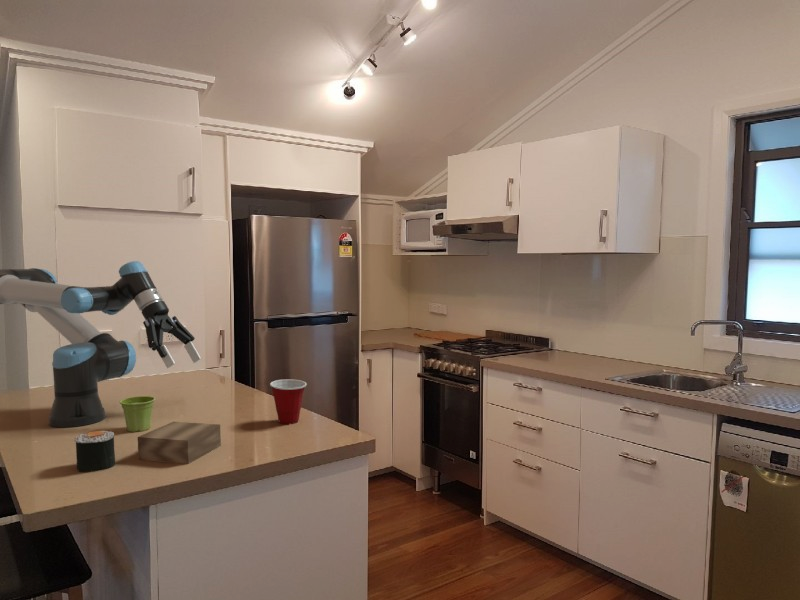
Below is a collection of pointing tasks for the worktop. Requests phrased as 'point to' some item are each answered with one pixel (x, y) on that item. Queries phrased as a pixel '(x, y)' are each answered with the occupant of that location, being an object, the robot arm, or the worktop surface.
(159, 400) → the worktop surface
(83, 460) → the sushi
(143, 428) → the plant pot
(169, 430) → the walnut block
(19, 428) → the worktop surface
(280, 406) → the plastic cup
